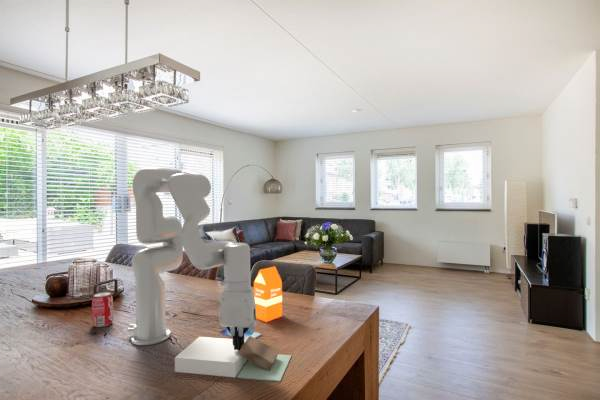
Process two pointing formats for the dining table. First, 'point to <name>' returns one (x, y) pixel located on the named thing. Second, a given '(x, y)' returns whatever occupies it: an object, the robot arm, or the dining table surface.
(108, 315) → the soda can
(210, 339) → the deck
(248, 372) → the mat
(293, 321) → the dining table surface
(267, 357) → the walnut tile
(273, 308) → the orange juice
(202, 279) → the dining table surface
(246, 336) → the smartphone
